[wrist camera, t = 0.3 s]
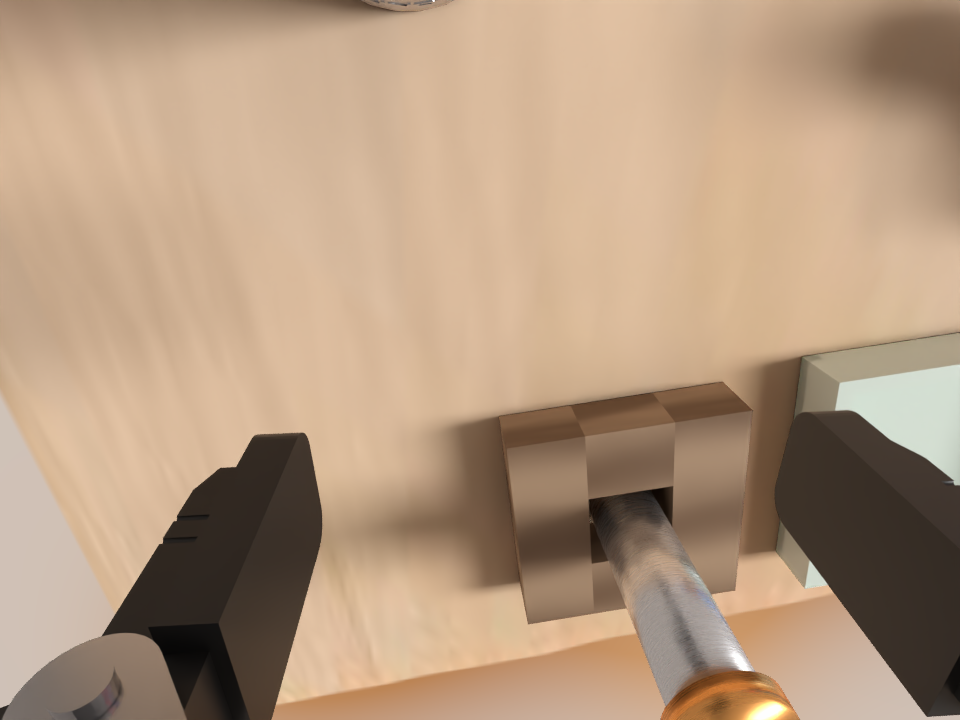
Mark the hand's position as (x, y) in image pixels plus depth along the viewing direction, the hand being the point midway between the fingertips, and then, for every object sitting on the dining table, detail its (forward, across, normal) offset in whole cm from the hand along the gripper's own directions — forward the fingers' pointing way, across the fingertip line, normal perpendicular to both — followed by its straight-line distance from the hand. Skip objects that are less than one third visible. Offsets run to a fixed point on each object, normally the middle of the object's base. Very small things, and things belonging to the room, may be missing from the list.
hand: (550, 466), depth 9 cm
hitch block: (+18, -7, +15) cm, 24 cm away
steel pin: (+18, -7, +15) cm, 24 cm away
